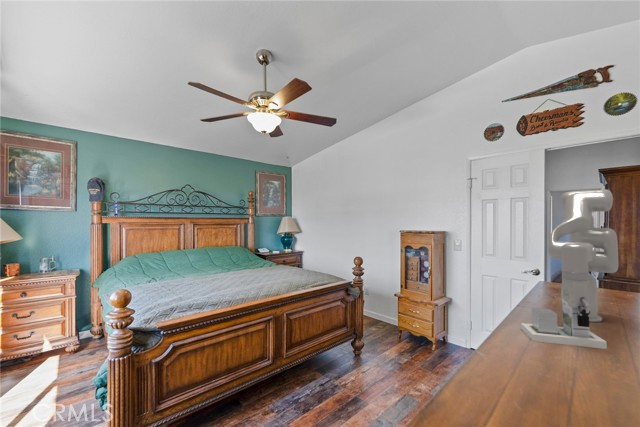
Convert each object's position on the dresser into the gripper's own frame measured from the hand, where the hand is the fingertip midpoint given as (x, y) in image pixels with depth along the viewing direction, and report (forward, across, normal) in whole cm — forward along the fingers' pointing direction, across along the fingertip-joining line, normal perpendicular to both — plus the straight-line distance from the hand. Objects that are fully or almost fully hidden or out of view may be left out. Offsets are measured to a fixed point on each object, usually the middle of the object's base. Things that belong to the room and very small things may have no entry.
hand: (575, 321), depth 107 cm
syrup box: (+7, 0, 0) cm, 7 cm away
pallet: (+8, 0, -5) cm, 9 cm away
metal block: (+7, 0, -10) cm, 12 cm away
